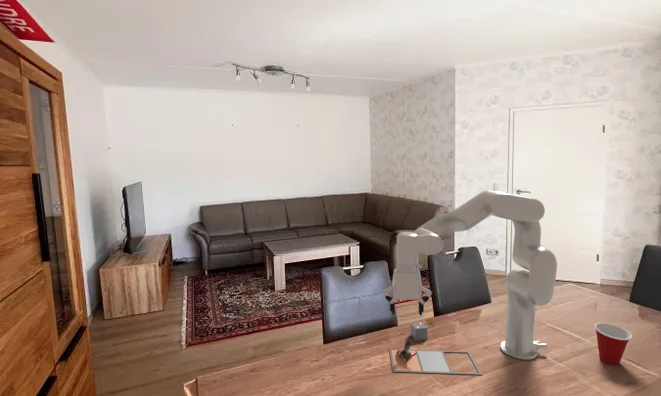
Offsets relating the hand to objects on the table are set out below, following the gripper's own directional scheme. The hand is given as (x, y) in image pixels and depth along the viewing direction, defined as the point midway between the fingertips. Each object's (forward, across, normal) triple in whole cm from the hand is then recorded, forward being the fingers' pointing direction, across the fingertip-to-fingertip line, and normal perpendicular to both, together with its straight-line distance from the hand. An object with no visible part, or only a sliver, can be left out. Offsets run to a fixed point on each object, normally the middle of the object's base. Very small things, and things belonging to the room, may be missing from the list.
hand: (406, 313), depth 131 cm
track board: (+18, -10, 0) cm, 21 cm away
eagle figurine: (+18, 0, -2) cm, 18 cm away
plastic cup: (+19, -74, -4) cm, 76 cm away
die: (+18, -8, -18) cm, 27 cm away
